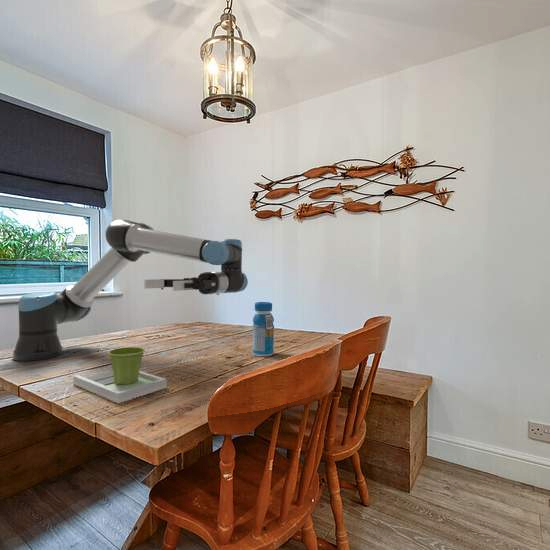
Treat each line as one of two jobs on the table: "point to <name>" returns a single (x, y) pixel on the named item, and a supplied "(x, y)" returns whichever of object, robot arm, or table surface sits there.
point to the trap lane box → (120, 386)
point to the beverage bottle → (263, 329)
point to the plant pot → (126, 364)
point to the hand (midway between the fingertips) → (158, 284)
